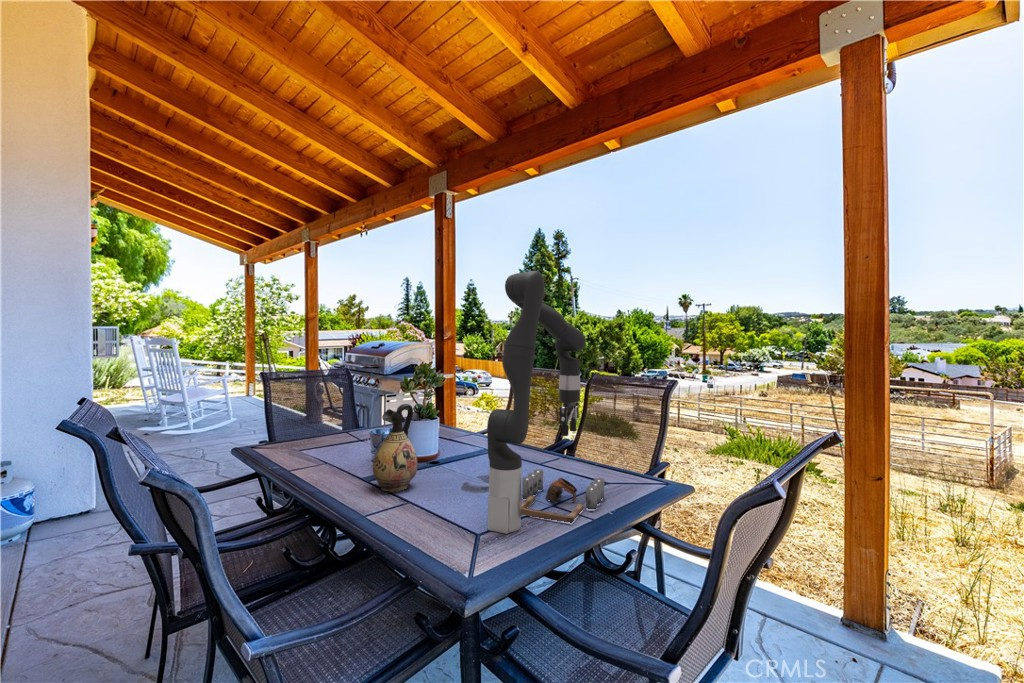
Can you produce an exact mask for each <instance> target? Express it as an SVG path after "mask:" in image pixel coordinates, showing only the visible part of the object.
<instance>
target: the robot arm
mask: <svg viewBox="0 0 1024 683" xmlns="http://www.w3.org/2000/svg"><path fill="white" fill-rule="evenodd" d="M545 289H546V287H545V279H544V276H543V274H542V273H541V272H540V271H538V270H529V271H524V272H517V273H514V274H513V273H512V274H511V275H509V276H508V277H507V278H506V280H505V283H504V290H505V294H506V295H507V297H508V299H509V300H510V301H511V302H512V303H513V304H515V305H516V306H517V307H519V308H520V309H522V310H521V313H520V315H519V317H518V320H517V321H516V323H515V324H514V326H513V327H512V329H511V330H510V332H509V333H508V335H507V337H506V339H505V341H504V345H503V353H502V361H501V362H502V367H503V371H504V374H505V376H506V378H507V380H508V382H509V384H510V387H511V390H512V394H513V395H512V396H513V410H512V409H505V408H504V409H503V408H495V409H494V410H492V411H491V412H490V414H489V416H488V420H487V423H486V424H487V427H486V432H487V433H486V434H487V435H486V436H487V456H488V457H487V458H488V460H489V467H488V468H489V471H488V472H489V477H488V480H489V482H488V483H489V484H488V497H487V498H488V499H487V503H488V504H487V505H488V506H487V507H488V508H487V530H488V531H490V532H491V531H492V532H496V533H501V534H506V535H508V534H509V533H513V532H514V533H515V532H516V531H518V530H520V529H521V525H522V524H521V520H522V519H521V518H522V516H521V503H522V470H523V468H522V467H523V465H522V464H523V462H522V460H523V459H522V456H521V455H520V454H519V453H517V452H516V451H514V450H512V448H510V447H509V446H508V444H512V445H513V444H515V445H521V444H523V443H524V442H525V440H526V439H527V436H528V432H529V422H530V421H529V420H530V398H531V395H530V394H531V384H532V376H533V368H534V361H535V355H536V343H537V342H536V341H537V335H538V334H537V333H538V327H539V324H540V325H541V326H542V328H544V329H545V330H546V332H548V333H549V334H550V336H551V337H553V338H554V339H555V340H554V346H555V350H556V353H557V358H558V361H559V380H558V401H559V402H561V403H562V402H563V405H562V406H559V411H558V414H559V417H558V424H559V425H561V435H562V437H568V436H569V432H573V433H574V432H577V421H578V419H579V417H580V408H579V407H580V403H579V402H580V401H581V376H580V375H581V370H580V368H581V364H580V360H579V359H578V358H576V357H575V358H574V357H572V356H571V354H570V352H574V353H576V352H580V351H582V350H584V349H585V346H586V338H585V336H584V334H583V332H582V331H581V330H579V329H578V328H576V327H575V326H574V325H572V324H570V323H569V322H568V321H567V320H566V319H565V318H564V316H563V315H562V314H561V312H559V311H558V310H557V309H555V308H553V307H551V306H549V305H547V304H546V303H544V296H545Z"/></svg>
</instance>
